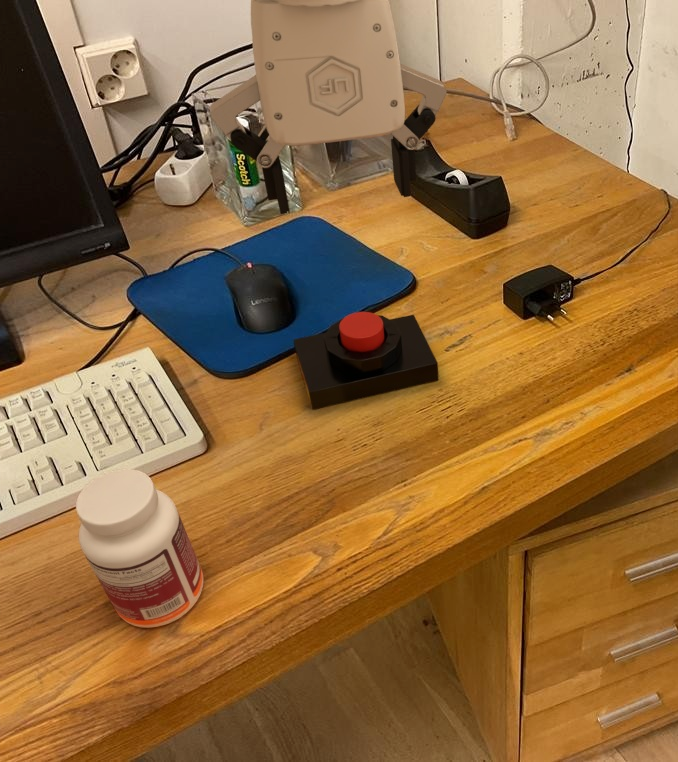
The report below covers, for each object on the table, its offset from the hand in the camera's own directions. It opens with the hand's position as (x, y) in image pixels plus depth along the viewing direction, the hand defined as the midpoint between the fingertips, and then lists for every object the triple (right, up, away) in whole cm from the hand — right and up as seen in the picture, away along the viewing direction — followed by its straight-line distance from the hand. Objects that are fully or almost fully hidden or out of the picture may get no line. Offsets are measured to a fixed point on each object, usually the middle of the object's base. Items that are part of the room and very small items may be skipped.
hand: (343, 197), depth 65 cm
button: (0, -11, +10) cm, 15 cm away
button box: (0, -14, +13) cm, 19 cm away
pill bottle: (-12, -30, -6) cm, 33 cm away
